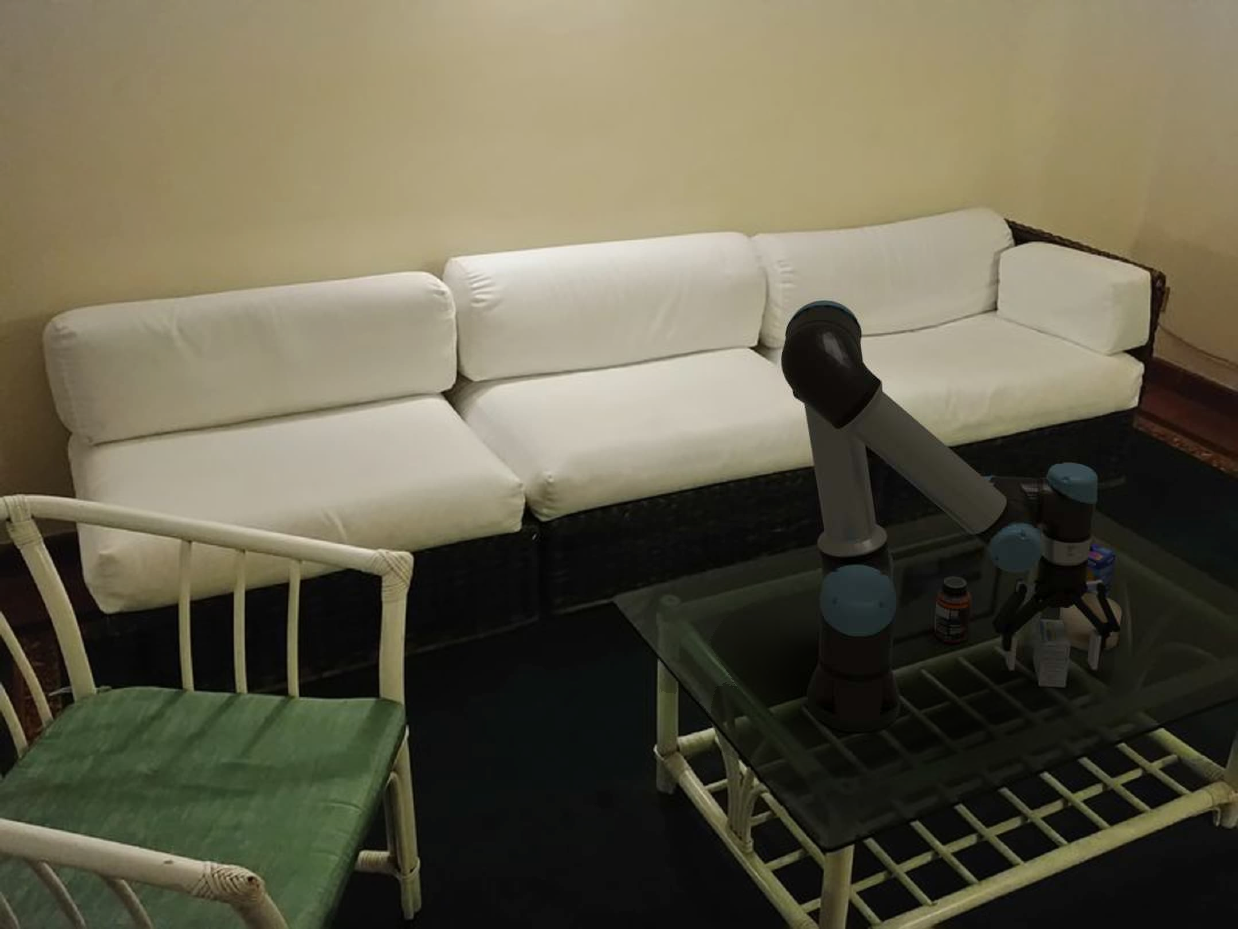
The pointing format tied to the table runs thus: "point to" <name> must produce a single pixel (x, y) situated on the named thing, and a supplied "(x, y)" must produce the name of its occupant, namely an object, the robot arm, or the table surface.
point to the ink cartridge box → (1100, 566)
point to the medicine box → (1051, 653)
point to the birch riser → (1087, 622)
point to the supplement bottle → (953, 611)
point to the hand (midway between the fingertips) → (1050, 665)
